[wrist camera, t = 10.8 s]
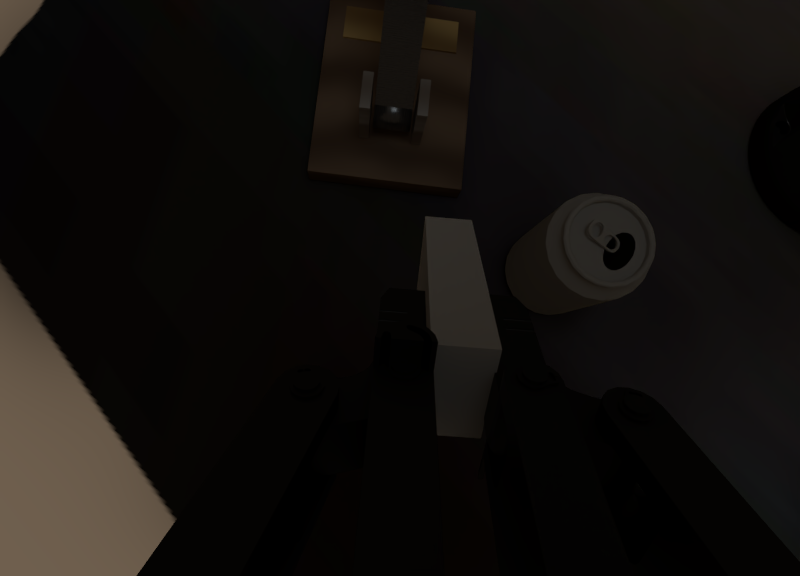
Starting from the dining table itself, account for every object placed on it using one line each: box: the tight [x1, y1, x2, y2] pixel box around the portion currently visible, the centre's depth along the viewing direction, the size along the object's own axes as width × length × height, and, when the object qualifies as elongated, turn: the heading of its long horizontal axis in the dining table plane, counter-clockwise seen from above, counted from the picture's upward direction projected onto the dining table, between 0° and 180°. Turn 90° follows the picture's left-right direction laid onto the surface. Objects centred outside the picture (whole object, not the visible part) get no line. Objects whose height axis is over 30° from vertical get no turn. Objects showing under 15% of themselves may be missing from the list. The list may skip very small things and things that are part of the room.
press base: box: [307, 0, 476, 198], centre depth 42 cm, size 17×13×7 cm
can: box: [505, 193, 656, 315], centre depth 38 cm, size 8×8×12 cm
